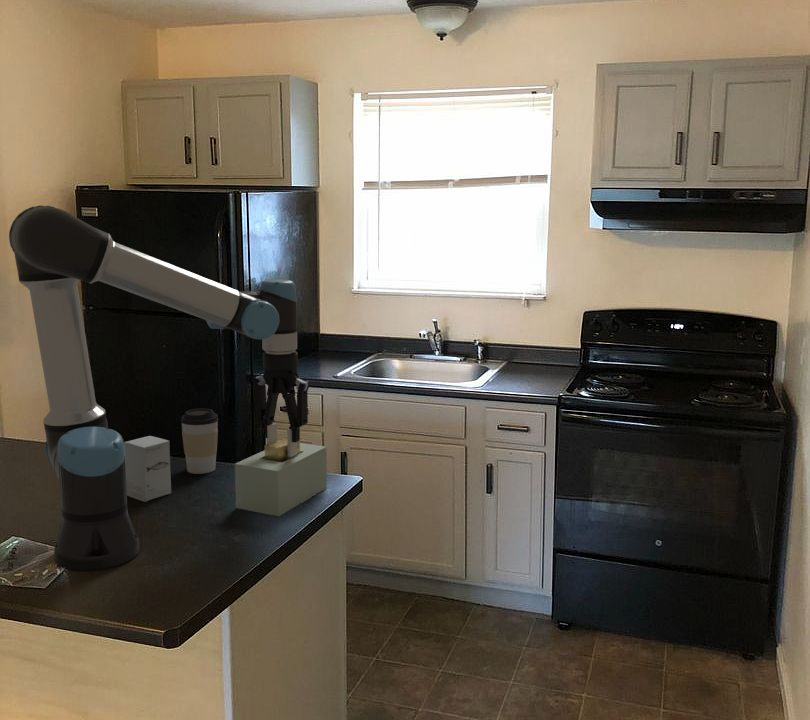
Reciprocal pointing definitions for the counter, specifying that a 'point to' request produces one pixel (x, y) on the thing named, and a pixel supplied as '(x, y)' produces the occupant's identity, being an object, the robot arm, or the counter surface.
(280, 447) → the tan wooden block
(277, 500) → the grey box with slot
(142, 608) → the counter surface
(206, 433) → the coffee cup
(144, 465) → the supplement box
